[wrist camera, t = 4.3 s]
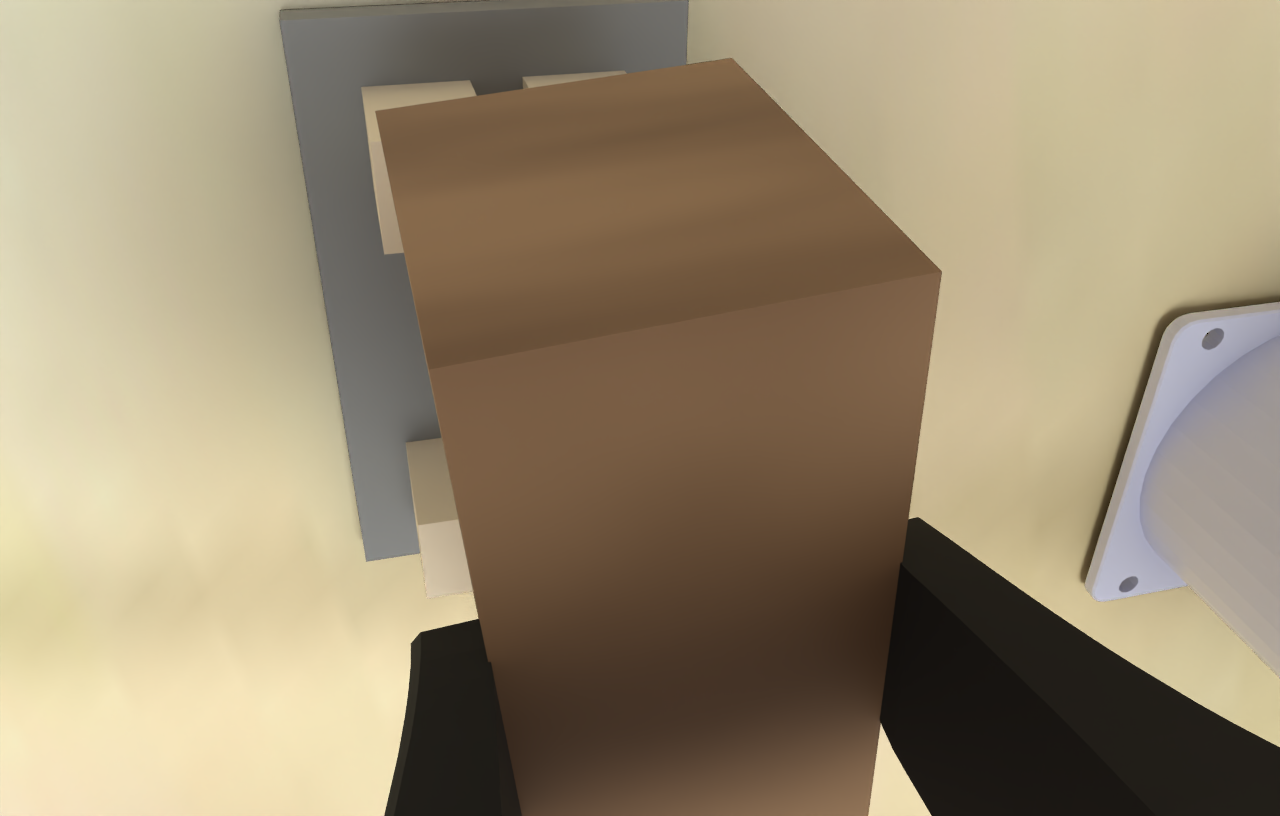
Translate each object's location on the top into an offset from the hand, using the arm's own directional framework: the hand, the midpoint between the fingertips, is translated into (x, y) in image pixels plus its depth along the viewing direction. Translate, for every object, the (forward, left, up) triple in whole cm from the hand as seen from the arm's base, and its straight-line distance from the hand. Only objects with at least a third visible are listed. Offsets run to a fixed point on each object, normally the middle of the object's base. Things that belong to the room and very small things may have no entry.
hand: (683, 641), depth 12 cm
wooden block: (0, 0, -4) cm, 4 cm away
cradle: (0, +1, -9) cm, 9 cm away
